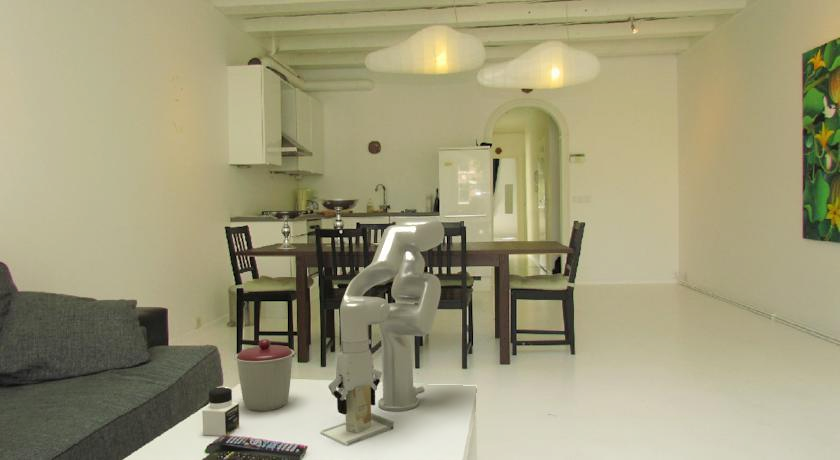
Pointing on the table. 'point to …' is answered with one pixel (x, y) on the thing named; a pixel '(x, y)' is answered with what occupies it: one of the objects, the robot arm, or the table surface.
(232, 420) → the medicine bottle
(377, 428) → the mat
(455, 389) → the table surface
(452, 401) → the table surface
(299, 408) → the table surface
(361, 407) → the skincare box
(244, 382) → the canister
